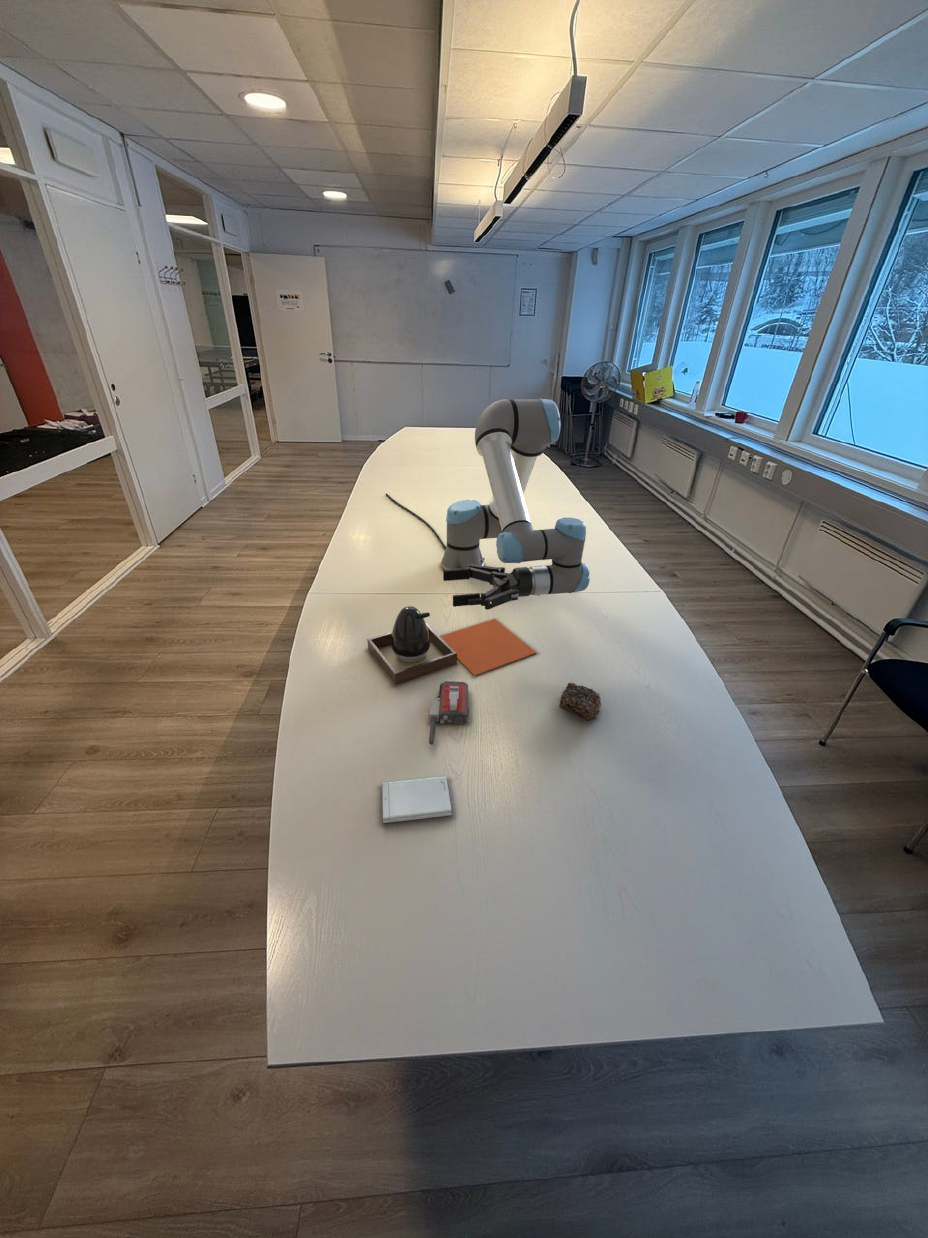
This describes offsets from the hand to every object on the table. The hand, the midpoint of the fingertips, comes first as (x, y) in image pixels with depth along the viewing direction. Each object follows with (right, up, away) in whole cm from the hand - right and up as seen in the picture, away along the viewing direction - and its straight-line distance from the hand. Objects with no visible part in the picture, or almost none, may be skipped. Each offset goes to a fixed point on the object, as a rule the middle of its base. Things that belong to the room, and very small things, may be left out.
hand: (447, 587), depth 125 cm
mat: (+10, -15, +14) cm, 23 cm away
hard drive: (-5, -42, -31) cm, 52 cm away
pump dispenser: (-10, -18, +9) cm, 22 cm away
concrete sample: (+31, -29, -7) cm, 43 cm away
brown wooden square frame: (-10, -18, +9) cm, 22 cm away
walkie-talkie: (+1, -30, -11) cm, 32 cm away
